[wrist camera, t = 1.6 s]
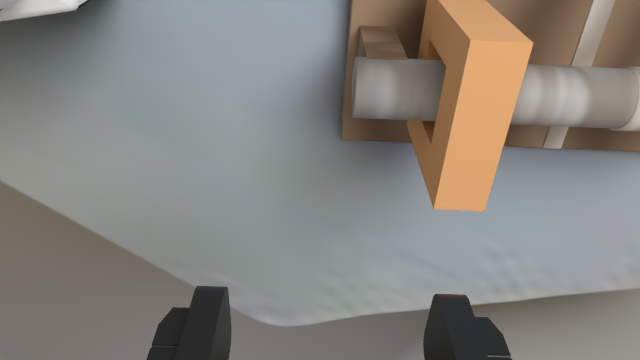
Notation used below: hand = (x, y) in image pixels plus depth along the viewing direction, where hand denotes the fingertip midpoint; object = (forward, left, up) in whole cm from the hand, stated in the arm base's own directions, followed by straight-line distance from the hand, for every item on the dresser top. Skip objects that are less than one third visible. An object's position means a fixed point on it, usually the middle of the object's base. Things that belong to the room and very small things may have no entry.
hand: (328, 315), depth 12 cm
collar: (-7, 0, -18) cm, 20 cm away
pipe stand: (-13, 0, -21) cm, 25 cm away
